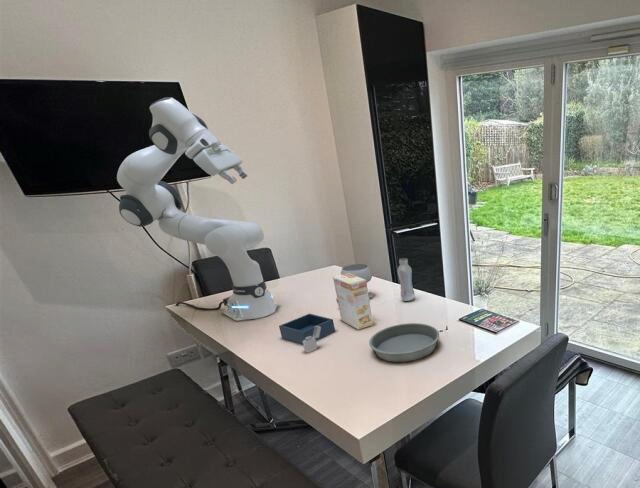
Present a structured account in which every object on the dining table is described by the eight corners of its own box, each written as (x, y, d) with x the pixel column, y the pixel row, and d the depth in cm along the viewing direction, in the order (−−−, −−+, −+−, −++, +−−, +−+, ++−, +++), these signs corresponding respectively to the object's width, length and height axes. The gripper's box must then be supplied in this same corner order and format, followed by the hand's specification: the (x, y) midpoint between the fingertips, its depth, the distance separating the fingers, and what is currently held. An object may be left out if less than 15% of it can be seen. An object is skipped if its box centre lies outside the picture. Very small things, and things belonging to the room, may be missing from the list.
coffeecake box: (374, 324, 168) (366, 279, 160) (357, 330, 163) (349, 283, 155) (356, 315, 177) (348, 272, 169) (340, 320, 172) (331, 276, 165)
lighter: (307, 352, 146) (302, 332, 142) (304, 351, 147) (299, 331, 143) (325, 345, 151) (320, 325, 148) (322, 344, 152) (317, 324, 149)
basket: (282, 338, 157) (278, 325, 155) (312, 325, 168) (309, 313, 166) (305, 345, 151) (302, 332, 149) (335, 331, 162) (332, 319, 160)
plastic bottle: (418, 299, 195) (413, 258, 187) (407, 303, 189) (402, 261, 181) (408, 296, 198) (403, 256, 190) (398, 301, 193) (392, 259, 185)
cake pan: (383, 333, 160) (382, 322, 158) (445, 333, 159) (444, 322, 158) (360, 364, 138) (358, 352, 136) (432, 365, 137) (431, 353, 135)
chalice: (347, 304, 189) (341, 273, 183) (342, 295, 201) (337, 266, 195) (378, 298, 196) (373, 268, 190) (371, 290, 207) (367, 261, 201)
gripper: (212, 147, 147) (245, 179, 153) (182, 155, 129) (221, 191, 136) (225, 136, 146) (257, 169, 152) (196, 142, 128) (234, 180, 135)
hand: (240, 180), depth 144 cm, fingers open, 8 cm apart
